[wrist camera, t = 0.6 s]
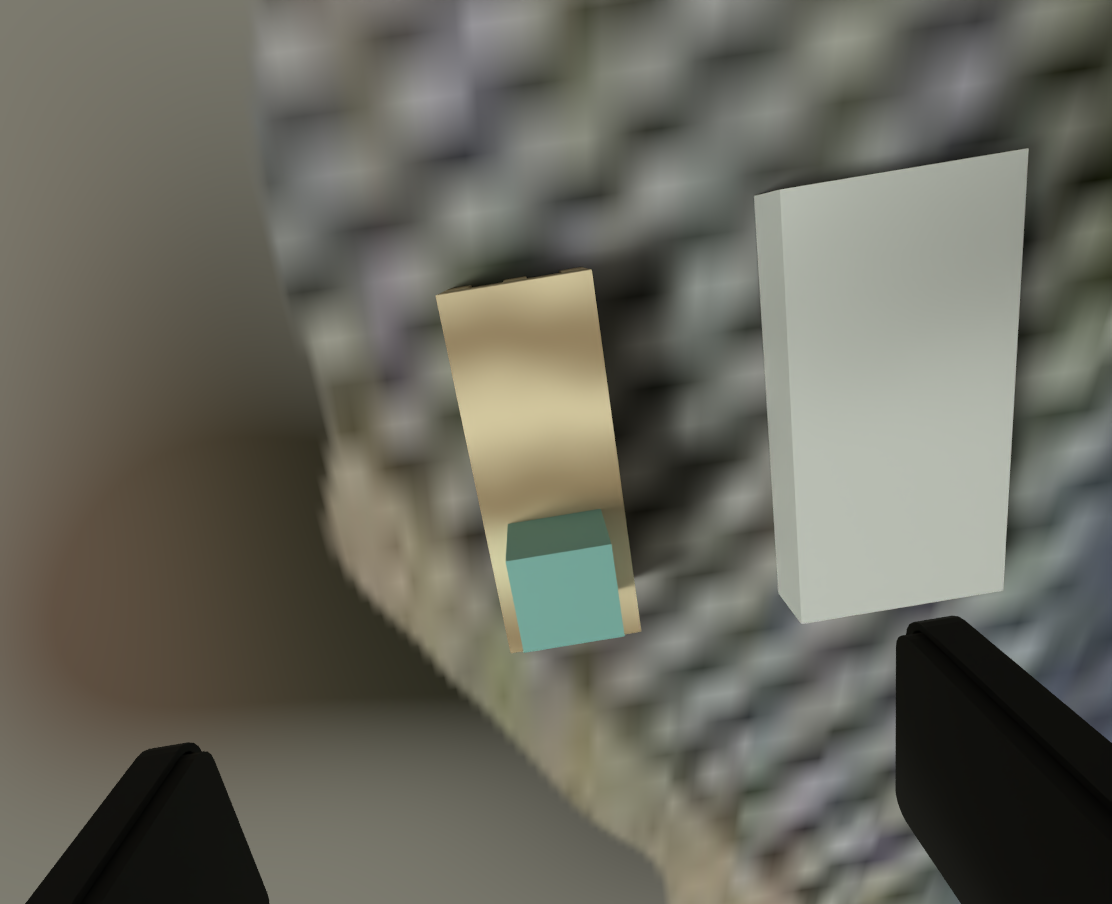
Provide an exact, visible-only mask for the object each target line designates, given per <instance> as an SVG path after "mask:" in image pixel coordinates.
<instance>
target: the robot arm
mask: <svg viewBox="0 0 1112 904" xmlns="http://www.w3.org/2000/svg"><path fill="white" fill-rule="evenodd" d="M896 797H897V801H898V804H899V807H900V810H901V812H902V815H903V817H904V819H905V820H906V822H907V824H908V825H909V827H910V828H911V830H912V831H913V833H914V834H915V836H916V837H917V839H918V840H919V842H920V843H921V845H922V846H923V848H924V849H925V851H926V852H927V854H928V855H929V857H930V858H931V860H932V861H933V863H934V864H935V866H936V867H937V868H938V870H939V871H940V873H941V874H942V876H943V877H944V879H945V880H946V882H947V883H948V885H949V886H950V888H951V889H952V891H953V892H954V894H955V895H956V897H957V898H958V900H959V901H960V903H961V904H1112V743H1111V742H1110V741H1108V740H1107V739H1106V738H1105V737H1104V736H1102V735H1101V734H1100V733H1099V732H1098V731H1096V730H1095V729H1094V728H1093V727H1092V726H1090V725H1089V724H1088V723H1087V722H1086V721H1085V720H1083V719H1082V718H1081V717H1080V716H1079V715H1077V714H1076V713H1075V712H1074V711H1073V710H1071V709H1070V708H1069V707H1068V706H1067V705H1065V704H1064V703H1063V702H1062V701H1061V700H1059V699H1058V698H1057V697H1056V696H1055V695H1053V694H1052V693H1051V692H1050V691H1049V690H1047V689H1046V688H1045V687H1044V686H1043V685H1041V684H1040V683H1039V682H1038V681H1037V680H1035V679H1034V678H1033V677H1032V676H1031V675H1029V674H1028V673H1027V672H1026V671H1025V670H1023V669H1022V668H1021V667H1020V666H1019V665H1018V664H1016V663H1015V662H1014V661H1013V660H1012V659H1010V658H1009V657H1008V656H1007V655H1006V654H1004V653H1003V652H1002V651H1001V650H1000V649H998V648H997V647H996V646H995V645H994V644H992V643H991V642H990V641H989V640H988V639H986V638H985V637H984V636H983V635H982V634H980V633H979V632H978V631H977V630H976V629H974V628H973V627H972V626H971V625H970V624H968V623H967V622H966V621H965V620H963V619H962V618H960V617H958V616H948V617H942V618H936V619H930V620H924V621H918V622H913V623H911V624H909V626H908V628H907V633H906V635H903V636H900V637H899V638H898V640H897V643H896ZM25 904H269V898H268V894H267V891H266V889H265V886H264V884H263V881H262V879H261V876H260V874H259V871H258V869H257V866H256V864H255V862H254V859H253V856H252V854H251V851H250V849H249V846H248V844H247V841H246V838H245V836H244V833H243V831H242V829H241V826H240V824H239V821H238V818H237V816H236V813H235V811H234V808H233V806H232V803H231V801H230V798H229V796H228V793H227V791H226V788H225V786H224V783H223V781H222V778H221V776H220V773H219V771H218V768H217V766H216V763H215V761H214V759H213V757H212V755H211V754H210V753H208V752H204V751H203V752H202V751H201V749H200V748H199V746H197V745H196V744H195V743H182V744H176V745H170V746H164V747H158V748H152V749H148V750H146V751H144V752H142V753H141V754H140V755H139V756H138V757H137V758H136V759H135V761H134V762H133V764H132V765H131V766H130V767H129V769H128V770H127V771H126V772H125V774H124V775H123V777H122V778H121V779H120V780H119V782H118V783H117V784H116V786H115V787H114V788H113V789H112V791H111V792H110V793H109V795H108V796H107V797H106V799H105V800H104V801H103V803H102V804H101V805H100V807H99V808H98V809H97V811H96V812H95V813H94V814H93V816H92V817H91V818H90V820H89V821H88V822H87V824H86V825H85V826H84V828H83V829H82V830H81V831H80V833H79V834H78V836H77V837H76V838H75V839H74V841H73V842H72V843H71V845H70V846H69V847H68V848H67V850H66V851H65V852H64V854H63V855H62V856H61V858H60V859H59V860H58V862H57V863H56V864H55V865H54V867H53V868H52V869H51V871H50V872H49V873H48V875H47V876H46V877H45V879H44V880H43V881H42V882H41V884H40V885H39V886H38V888H37V889H36V890H35V892H34V893H33V894H32V896H31V897H30V898H29V900H28V901H27V902H26V903H25Z"/></svg>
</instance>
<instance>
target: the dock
mask: <svg viewBox="0 0 1112 904" xmlns="http://www.w3.org/2000/svg"><path fill="white" fill-rule="evenodd" d="M1028 150H1029V148H1027V149H1021V150H1015V151H1009V152H1003V153H997V154H991V155H985V156H979V157H973V158H967V159H961V160H955V161H949V162H943V163H937V164H931V165H925V166H919V167H913V168H907V169H901V170H895V171H889V172H883V173H877V174H871V175H864V176H858V177H852V178H846V179H840V180H834V181H828V182H822V183H816V184H810V185H804V186H798V187H792V188H786V189H780V190H776V191H772V192H768V193H764V194H760V195H756V196H754V204H755V220H756V237H757V253H758V269H759V286H760V302H761V318H762V335H763V351H764V367H765V383H766V400H767V416H768V432H769V449H770V465H771V481H772V498H773V514H774V530H775V547H776V563H777V579H778V593H779V595H780V596H781V597H782V599H783V600H784V601H785V603H786V604H787V605H788V607H789V608H790V609H791V611H792V612H793V613H794V615H795V616H796V617H797V619H798V620H799V621H800V623H801V624H804V623H810V622H816V621H822V620H828V619H834V618H840V617H846V616H853V615H859V614H865V613H871V612H877V611H883V610H889V609H895V608H901V607H907V606H913V605H919V604H925V603H931V602H937V601H943V600H949V599H955V598H961V597H967V596H973V595H979V594H985V593H991V592H997V591H1003V584H1004V567H1005V550H1006V532H1007V515H1008V497H1009V480H1010V463H1011V445H1012V428H1013V411H1014V393H1015V376H1016V358H1017V341H1018V324H1019V306H1020V289H1021V272H1022V254H1023V237H1024V220H1025V202H1026V185H1027V167H1028Z"/></svg>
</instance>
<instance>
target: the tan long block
mask: <svg viewBox="0 0 1112 904" xmlns="http://www.w3.org/2000/svg"><path fill="white" fill-rule="evenodd" d="M436 299H437V304H438V309H439V314H440V318H441V323H442V328H443V333H444V337H445V342H446V347H447V352H448V357H449V361H450V366H451V371H452V376H453V380H454V385H455V390H456V395H457V399H458V404H459V409H460V414H461V419H462V423H463V428H464V433H465V438H466V442H467V447H468V452H469V457H470V461H471V466H472V471H473V476H474V481H475V485H476V490H477V495H478V500H479V504H480V509H481V514H482V519H483V523H484V528H485V533H486V538H487V543H488V547H489V552H490V557H491V562H492V566H493V571H494V576H495V581H496V585H497V590H498V595H499V600H500V605H501V609H502V614H503V619H504V624H505V628H506V633H507V638H508V643H509V647H510V652H511V653H515V652H521V651H523V646H522V641H521V636H520V631H519V626H518V621H517V616H516V611H515V606H514V601H513V597H512V592H511V587H510V582H509V577H508V572H507V567H506V545H507V528H508V524H511V523H517V522H523V521H529V520H535V519H541V518H547V517H553V516H559V515H565V514H571V513H578V512H584V511H590V510H596V509H601V511H602V515H603V518H604V521H605V524H606V528H607V531H608V534H609V538H610V541H611V544H612V551H613V558H614V565H615V572H616V579H617V586H618V593H619V600H620V607H621V614H622V621H623V628H624V634H629V633H635V632H641V627H640V619H639V612H638V605H637V597H636V590H635V583H634V575H633V568H632V561H631V553H630V546H629V539H628V531H627V524H626V517H625V509H624V502H623V495H622V487H621V480H620V473H619V465H618V458H617V451H616V443H615V436H614V429H613V422H612V414H611V407H610V400H609V392H608V385H607V378H606V370H605V363H604V356H603V348H602V341H601V334H600V326H599V319H598V312H597V304H596V297H595V290H594V282H593V275H592V270H591V269H587V268H583V267H578V268H572V269H566V270H560V271H559V273H556V274H550V275H544V276H538V277H532V278H526V276H524V277H518V278H512V279H506V280H504V281H503V282H502V283H496V284H490V285H484V286H478V287H472V285H470V286H464V287H458V288H452V289H448V290H446V291H444V292H442V293H440V294H438V295H436Z"/></svg>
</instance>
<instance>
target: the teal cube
mask: <svg viewBox="0 0 1112 904" xmlns="http://www.w3.org/2000/svg"><path fill="white" fill-rule="evenodd" d="M506 567H507V572H508V577H509V582H510V587H511V592H512V597H513V601H514V606H515V611H516V616H517V621H518V626H519V631H520V636H521V641H522V646H523V651H524V653H525V652H531V651H538V650H544V649H550V648H556V647H562V646H568V645H574V644H580V643H586V642H592V641H598V640H604V639H611V638H617V637H623V636H625V635H624V628H623V621H622V614H621V607H620V600H619V593H618V586H617V579H616V572H615V565H614V558H613V551H612V544H611V541H610V538H609V534H608V531H607V528H606V524H605V521H604V518H603V515H602V511H601V509H596V510H590V511H584V512H578V513H571V514H565V515H559V516H553V517H547V518H541V519H535V520H529V521H523V522H517V523H511V524H508V528H507V545H506Z"/></svg>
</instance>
